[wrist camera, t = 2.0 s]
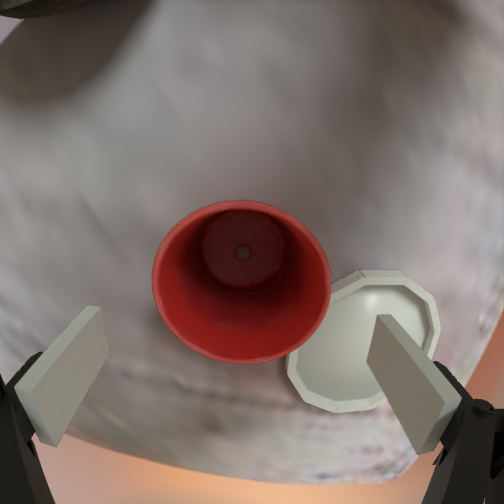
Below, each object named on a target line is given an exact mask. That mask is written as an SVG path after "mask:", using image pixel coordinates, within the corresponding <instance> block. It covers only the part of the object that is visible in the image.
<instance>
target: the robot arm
mask: <svg viewBox="0 0 504 504" xmlns="http://www.w3.org/2000/svg"><path fill="white" fill-rule="evenodd" d="M109 355H110V354H109V349H108V344H107V339H106V333H105V328H104V322H103V316H102V310H101V307H99V306H89V305H87V306H86V307H85V308H84V309H83V311H82V312H81V313H80V314H79V315H78V316H77V317H76V318H75V319H74V320H73V321H72V322H71V323H70V324H69V325H68V326H67V327H66V329H65V330H64V331H63V332H62V333H61V334H60V335H59V336H58V337H57V338H56V339H55V340H54V342H53V343H52V344H51V345H50V346H49V347H48V348H47V349H46V350H45V352H38V353H37V354H35V355H33V356H32V357H30V358H29V359H28V361H27V362H26V363H25V365H23V366H22V367H21V368H20V371H18V372H17V373H16V374H15V375H14V376H13V377H12V379H11V380H10V381H9V382H8V383H7V384H6V386H5V384H4V382H3V379H2V377H1V374H0V504H55V501H54V499H53V497H52V494H51V492H50V489H49V487H48V484H47V481H46V478H45V476H44V473H43V470H42V467H41V464H40V461H39V458H38V455H37V452H36V449H35V445H34V443H33V441H32V439H31V438H32V436H33V434H34V433H35V432H36V435H37V436H38V438H39V440H40V442H42V443H45V444H48V445H51V446H54V447H57V446H58V444H59V442H60V440H61V438H62V436H63V435H64V433H65V431H66V429H67V427H68V425H69V424H70V422H71V420H72V418H73V416H74V415H75V413H76V411H77V409H78V408H79V406H80V404H81V402H82V401H83V399H84V397H85V395H86V394H87V392H88V390H89V389H90V387H91V385H92V383H93V382H94V380H95V378H96V377H97V375H98V373H99V372H100V370H101V368H102V367H103V365H104V363H105V362H106V360H107V358H108V357H109ZM366 362H367V364H368V366H369V368H370V369H371V371H372V373H373V375H374V376H375V378H376V380H377V382H378V384H379V385H380V387H381V389H382V391H383V392H384V394H385V396H386V398H387V400H388V401H389V403H390V405H391V407H392V409H393V411H394V412H395V414H396V416H397V418H398V420H399V422H400V423H401V425H402V427H403V429H404V431H405V433H406V435H407V437H408V438H409V440H410V442H411V444H412V446H413V448H414V450H415V452H416V454H417V455H420V454H424V453H428V452H431V451H434V449H435V448H436V446H437V444H438V442H439V441H441V443H442V445H443V446H444V447H443V449H442V450H441V452H440V454H439V455H438V457H437V458H436V460H435V461H434V463H433V465H435V464H436V463H437V464H436V467H435V470H434V472H433V475H432V478H431V481H430V483H429V486H428V489H427V491H426V494H425V496H424V499H423V501H422V504H483V503H484V498H485V504H504V409H495V408H494V407H493V405H492V404H490V403H489V402H488V401H485V400H483V399H473V398H472V397H471V396H470V395H469V393H468V392H467V391H466V390H465V389H464V387H463V386H462V385H461V384H460V383H459V382H458V381H457V379H456V378H455V377H454V376H452V373H451V372H450V371H449V370H448V369H447V368H446V367H445V366H444V365H442V364H441V363H439V362H437V361H434V362H432V361H431V360H430V358H429V357H428V356H427V355H426V354H425V353H424V351H423V350H422V349H421V348H420V347H419V346H418V344H417V343H416V342H415V341H414V340H413V339H412V337H411V336H410V335H409V334H408V333H407V332H406V331H405V329H404V328H403V327H402V326H401V325H400V324H399V323H398V322H397V320H396V319H395V318H394V317H393V316H392V315H391V314H379V315H377V317H376V322H375V327H374V331H373V335H372V340H371V344H370V348H369V352H368V356H367V360H366Z"/></svg>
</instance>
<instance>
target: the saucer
mask: <svg viewBox="0 0 504 504" xmlns="http://www.w3.org/2000/svg"><path fill="white" fill-rule="evenodd" d="M331 286H332V287H331V298H330V303H329V306H328V309H327V312H326V314H325V317H324V319H323V321H322V323H321V324H320V326H319V327H318V329H317V330H316V332H315V333H314V334H313V335H312V336H311V337H310V338H309V339H308V340H307V341H306V342H305V343H304V344H303V345H302V346H300V347H299V348H298V349H296V350H294V351H293V352H291V353H289V354H287V355H286V361H285V365H286V370H287V375H288V377H289V379H290V380H291V382H292V383H293V385H294V386H295V388H296V390H297V391H298V393H299V394H300V396H301V397H302V399H303V401H305V402H306V403H309V404H311V405H314V406H317V407H319V408H322V409H324V410H327V411H330V412H332V413H344V412H354V411H363V410H370V409H373V408H375V407H377V406H379V405H381V404H383V403H385V402H387V401H388V400H387V398H386V396H385V394H384V392H383V391H382V389H381V387H380V385H379V384H378V382H377V380H376V378H375V376H374V375H373V373H372V371H371V369H370V368H369V366H368V364H367V362H366V360H367V356H368V352H369V348H370V344H371V340H372V335H373V331H374V327H375V322H376V317H377V315H379V314H391V315H392V316H393V317H394V318H395V319H396V320H397V322H398V323H399V324H400V325H401V326H402V327H403V328H404V329H405V331H406V332H407V333H408V334H409V335H410V336H411V337H412V339H413V340H414V341H415V342H416V343H417V344H418V346H419V347H420V348H421V349H422V350H423V351H424V353H425V354H426V355H427V356H428V357H429V358H430V360H431V359H432V356H433V353H434V350H435V347H436V344H437V341H438V338H439V335H440V332H441V327H440V322H439V317H438V313H437V308H436V304H435V299H434V297H433V296H431V295H430V294H429V293H428V292H427V291H425V290H424V289H423V288H422V287H420V286H419V285H418V284H416V283H415V282H414V281H413V280H411V279H410V278H409V277H407V276H406V275H405V274H403V273H402V272H401V271H399V270H359V271H358V270H357V271H355V272H353V273H351V274H350V275H348V276H346V277H344V278H342V279H340V280H338V281H336V282H334V283H332V284H331Z"/></svg>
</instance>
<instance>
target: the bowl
mask: <svg viewBox="0 0 504 504" xmlns="http://www.w3.org/2000/svg"><path fill="white" fill-rule="evenodd" d="M91 1H94V0H0V15H1V16H6V17H11V18H18V19H25V18H33V17H41V16H50V15H54V14H57V13H61V12H65V11H68V10H71V9H73V8H76V7H78V6H81V5H83V4H86V3H88V2H91Z"/></svg>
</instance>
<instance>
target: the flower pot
mask: <svg viewBox="0 0 504 504" xmlns="http://www.w3.org/2000/svg"><path fill="white" fill-rule="evenodd" d="M331 287H332V286H331V273H330V268H329V264H328V261H327V258H326V255H325V253H324V251H323V249H322V247H321V245H320V244H319V242H318V241H317V239H316V238H315V236H314V235H313V234H312V233H311V232H310V231H309V229H308V228H307V227H306V226H304V225H303V224H302V223H301V222H300V221H299V220H297V219H296V218H294V217H293V216H291V215H290V214H288V213H286V212H284V211H282V210H281V209H278V208H276V207H273V206H270V205H268V204H264V203H260V202H256V201H248V200H232V201H224V202H219V203H214V204H211V205H208V206H206V207H203V208H201V209H199V210H196V211H194V212H193V213H191V214H189V215H188V216H187V217H185V218H184V219H182V220H181V221H180V222H179V223H177V224H176V225H175V226H174V227H173V228H172V229H171V231H170V232H169V233H168V234H167V236H166V237H165V238H164V240H163V242H162V243H161V245H160V247H159V249H158V251H157V254H156V257H155V260H154V264H153V270H152V290H153V296H154V300H155V303H156V306H157V308H158V311H159V313H160V315H161V317H162V319H163V320H164V322H165V323H166V325H167V326H168V327H169V329H170V330H171V331H172V332H173V333H174V335H175V336H176V337H178V338H179V339H180V340H181V341H182V342H183V343H184V344H186V345H187V346H189V347H190V348H192V349H193V350H195V351H197V352H198V353H200V354H202V355H204V356H207V357H209V358H212V359H215V360H218V361H222V362H228V363H234V364H255V363H262V362H267V361H270V360H274V359H277V358H280V357H282V356H285V355H287V354H289V353H291V352H293V351H294V350H296V349H298V348H299V347H300V346H302V345H303V344H304V343H305V342H306V341H307V340H308V339H309V338H310V337H311V336H312V335H313V334H314V333H315V332H316V330H317V329H318V327H319V326H320V324H321V323H322V321H323V319H324V317H325V314H326V312H327V309H328V306H329V303H330V298H331Z"/></svg>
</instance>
